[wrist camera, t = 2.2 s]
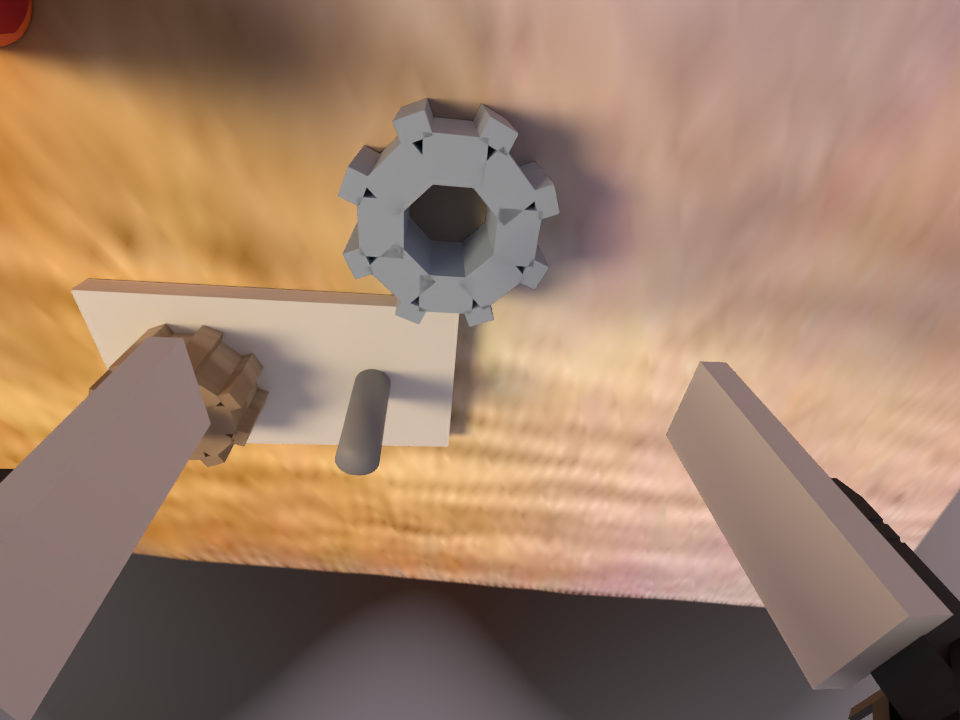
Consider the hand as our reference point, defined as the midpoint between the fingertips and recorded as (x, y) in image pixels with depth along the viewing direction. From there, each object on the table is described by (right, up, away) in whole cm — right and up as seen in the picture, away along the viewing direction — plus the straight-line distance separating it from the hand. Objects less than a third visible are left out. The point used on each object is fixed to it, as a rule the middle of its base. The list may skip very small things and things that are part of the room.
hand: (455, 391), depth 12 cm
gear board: (-12, 0, +19) cm, 23 cm away
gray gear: (-1, +10, +14) cm, 17 cm away
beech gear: (-18, 0, +17) cm, 25 cm away
